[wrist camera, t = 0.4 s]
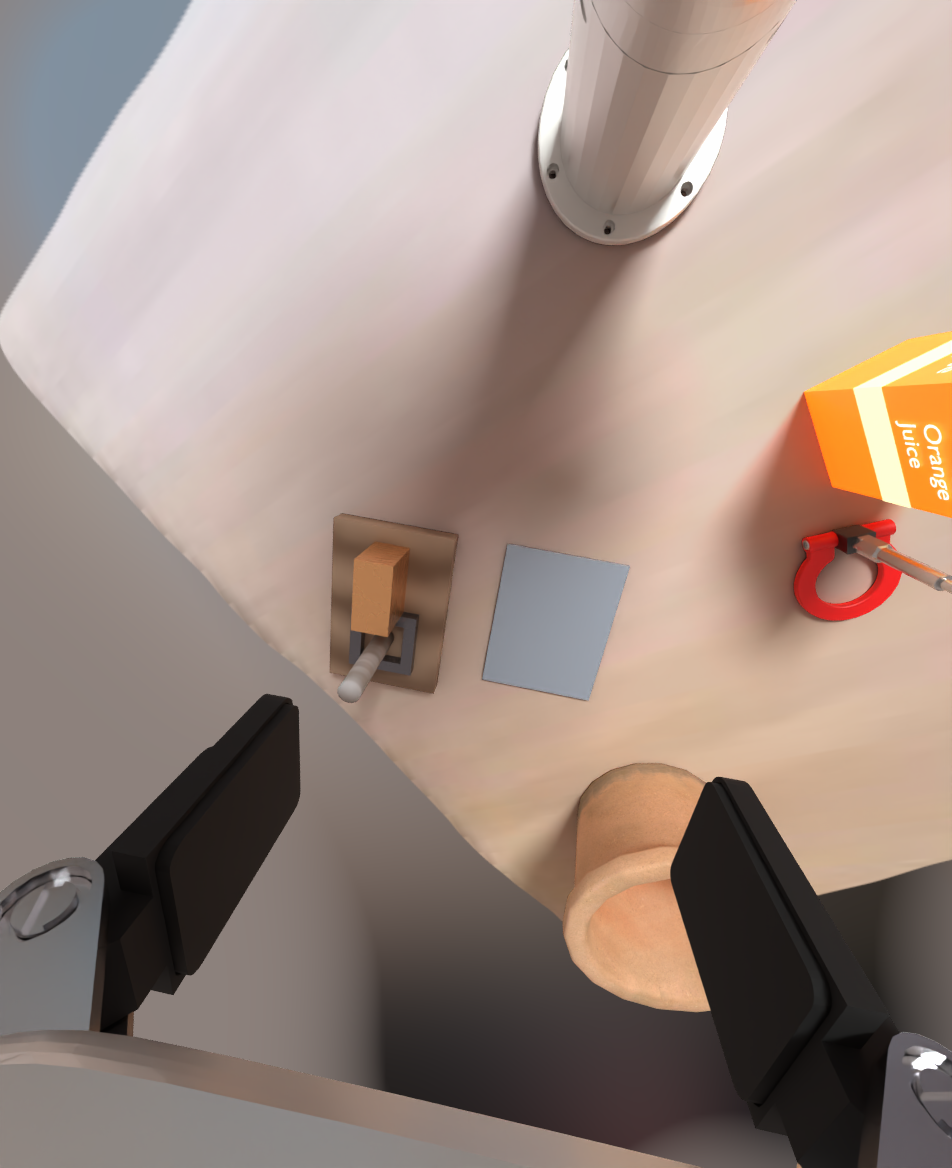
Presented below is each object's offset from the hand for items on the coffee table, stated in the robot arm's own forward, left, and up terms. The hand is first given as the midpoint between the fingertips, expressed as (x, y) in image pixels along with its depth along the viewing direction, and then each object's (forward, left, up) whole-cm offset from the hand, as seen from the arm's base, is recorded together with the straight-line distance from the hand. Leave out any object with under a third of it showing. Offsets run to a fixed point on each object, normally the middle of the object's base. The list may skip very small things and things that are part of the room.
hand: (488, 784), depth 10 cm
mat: (+13, +6, -34) cm, 37 cm away
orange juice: (-11, +27, -34) cm, 45 cm away
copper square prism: (+13, -11, -32) cm, 37 cm away
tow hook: (+2, +31, -35) cm, 46 cm away
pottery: (+36, +23, -34) cm, 54 cm away
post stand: (+14, -11, -34) cm, 38 cm away
